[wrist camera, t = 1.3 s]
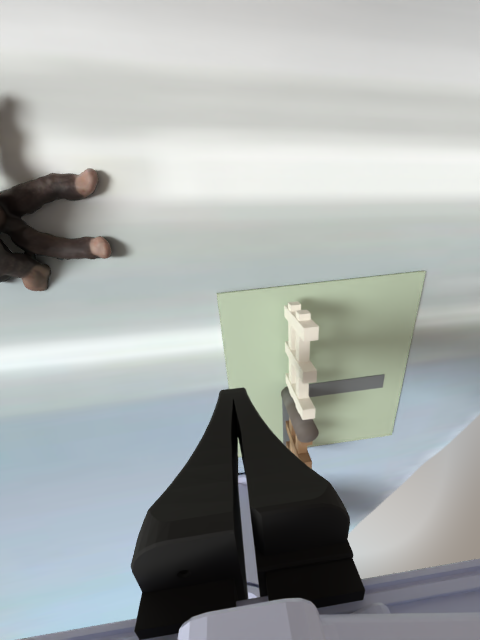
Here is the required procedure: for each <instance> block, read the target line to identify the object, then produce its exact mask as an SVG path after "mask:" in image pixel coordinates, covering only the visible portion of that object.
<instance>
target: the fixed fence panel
mask: <svg viewBox="0 0 480 640" xmlns="http://www.w3.org/2000/svg"><path fill="white" fill-rule="evenodd" d="M281 397H282V399H283V402H284V404H285V407H286V410H287V412H288V415H289V420H288V421H286V430H287V433H288V436H289V439H290V441H286V447H287V448H288V449H289V450H290V451H291V452H292V453H293V454H295V455H296V456H297V457H298V458H299V459H300V460H301V461H302V462H304V463H305V464H306V465H307V466H308V467H310V468H311V469H312V461H311V458H310V456H309V453H308V451H307V446H308V445H312V444H313V440H315V439H316V438H317V437H318V434H319V431H318V429H317V427H316V425H315V423H314V421H313V419H307V420H302V418H301V416H300V413H298V411H297V409H296V404H295V402H294V400H293V398H292V397H291V395H290V393H289V389H288V386H287V387H285V388H284V389H283V390H282V391H281Z"/></svg>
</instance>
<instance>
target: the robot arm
mask: <svg viewBox="0 0 480 640" xmlns="http://www.w3.org/2000/svg"><path fill="white" fill-rule="evenodd" d="M238 439H239V444H240V450H241V455H242V460H243V465H244V470H245V474H243V475H238ZM349 525H350V518H349V515H348V513H347V510H346V508H345V506H344V504H343V503H342V501H341V499H340V498H339V496H338V494H337V493H336V491H335V490H334V488H333V487H332V485H331V484H330V482H328V481H327V480H326V479H324V478H323V477H321V476H320V475H319V474H317V473H316V472H315V471H313V470H312V469H311V468H310V467H308V466H307V465H306V464H305V463H304V462H302V461H301V460H300V459H299V458H298V457H297V456H296V455H295V454H293V453H292V452H291V451H290V450H289V449H288V448H287V447H286V446H285V445H284V444H283V443H282V442H281V441H280V440H279V439H278V438H277V436H276V435H275V434H274V433H273V432H272V431H271V429H270V428H269V427H268V426H267V424H266V423H265V422H264V420H263V419H262V418H261V416H260V415H259V413H258V412H257V410H256V409H255V407H254V405H253V404H252V402H251V400H250V398H249V396H248V394H247V391H246V389H245V388H244V387H243V388H235V389H227V390H221V391H220V393H219V398H218V401H217V404H216V407H215V410H214V413H213V415H212V418H211V420H210V422H209V425H208V427H207V429H206V431H205V433H204V435H203V437H202V439H201V441H200V442H199V444H198V446H197V448H196V449H195V451H194V452H193V454H192V456H191V457H190V459H189V460H188V462H187V463H186V465H185V466H184V468H183V469H182V470H181V472H180V473H179V474H178V475H177V477H176V478H175V479H174V481H173V482H172V483H171V485H170V486H169V487H168V488H167V489H166V491H165V492H164V493H163V494H162V495H161V496H160V497H159V498H158V500H157V501H156V502H155V503H154V504H153V505H152V506H151V507H150V508H149V510H148V512H147V514H146V517H145V519H144V522H143V524H142V527H141V530H140V532H139V535H138V539H137V543H136V547H135V551H134V555H133V559H132V563H131V569H132V572H133V574H134V576H135V578H136V580H137V582H138V584H139V586H140V588H141V590H142V596H141V601H140V606H139V611H138V616H137V619H131V620H126V621H120V622H114V623H108V624H103V625H97V626H91V627H86V628H80V629H74V630H68V631H63V632H57V633H51V634H46V635H40V636H34V637H28V638H23V639H17V640H480V559H474V560H469V561H463V562H458V563H452V564H446V565H440V566H435V567H429V568H423V569H417V570H411V571H406V572H400V573H394V574H389V575H383V576H378V577H372V578H366V579H361V578H360V576H359V574H358V571H357V569H356V566H355V564H354V561H353V559H352V558H353V552H352V550H351V547H350V545H349V542H348V540H347V538H348V532H349Z"/></svg>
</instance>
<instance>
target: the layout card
mask: <svg viewBox="0 0 480 640" xmlns="http://www.w3.org/2000/svg"><path fill="white" fill-rule="evenodd" d="M425 273H426V271H416V272H407V273H398V274H388V275H379V276H370V277H361V278H352V279H343V280H333V281H324V282H315V283H306V284H297V285H288V286H278V287H269V288H260V289H251V290H242V291H233V292H223V293H217V300H218V308H219V315H220V323H221V331H222V339H223V346H224V354H225V362H226V369H227V377H228V385H229V389H235V388H243V387H244V388H245V389H246V391H247V394H248V396H249V398H250V400H251V402H252V404H253V405H254V407H255V409H256V410H257V412H258V413H259V415H260V416H261V418H262V419H263V420H264V422H265V423H266V424H267V426H268V427H269V428H270V429H271V431H272V432H273V433H274V434H275V435H276V436H277V438H278V439H279V440H280V441H281V442H282V443H283V444H284V445H285V446H286V441H290V439H289V436H288V433H287V430H286V421H288V420H289V415H288V412H287V410H286V407H285V404H284V402H283V399H282V397H281V391H282V390H283V389H284V388H285V387H287V384H286V374H285V373H289V358H288V356H287V354H286V352H285V341H288V321H287V319H286V318H285V317H284V305H288V302H297V301H298V302H299V303H300V304H301V310H306V309H307V310H308V311H309V312H310V313H311V319H312V320H313V321H314V322H315V323H316V324H317V325H318V326H319V335H318V340H315V341H310V359H309V360H310V361H311V363H312V364H313V365H314V367H315V368H316V370H317V382H314V383H309V397H310V399H311V401H312V403H313V405H314V406H315V418H314V419H313V421H314V423H315V425H316V427H317V429H318V431H319V434H318V437H317V438H316V439H315V440H313V444H312V445H308V446H307V447H313V446H320V445H327V444H334V443H341V442H348V441H354V440H361V439H368V438H375V437H382V436H389V435H392V431H393V426H394V421H395V417H396V412H397V407H398V402H399V397H400V393H401V388H402V383H403V378H404V373H405V369H406V364H407V359H408V354H409V349H410V345H411V340H412V335H413V330H414V325H415V321H416V316H417V311H418V306H419V301H420V297H421V292H422V287H423V282H424V277H425ZM238 457H242V455H241V450H240V444H239V439H238Z"/></svg>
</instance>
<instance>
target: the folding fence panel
mask: <svg viewBox="0 0 480 640" xmlns="http://www.w3.org/2000/svg"><path fill="white" fill-rule="evenodd" d="M284 317H285V318H286V319H287V321H288V341H285V352H286V354H287V356H288V358H289V373H285V374H286V384H287V386H288V389H289V393H290V395H291V397H292V398H293V400H294V402H295V404H296V409H297V411H298V413H300V416H301V418H302V420H307V419H314V418H315V406H314V405H313V403H312V401H311V399H310V397H309V383H314V382H317V370H316V368H315V367H314V365H313V364H312V363H311V361H310V360H309V359H310V341H315V340H318V335H319V326H318V325H317V324H316V323H315V322H314V321H313V320H312V319H311V313H310V312H309V311H308V310H307V309H306V310H301V304H300V303H299V302H298V301H297V302H288V305H284Z"/></svg>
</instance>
